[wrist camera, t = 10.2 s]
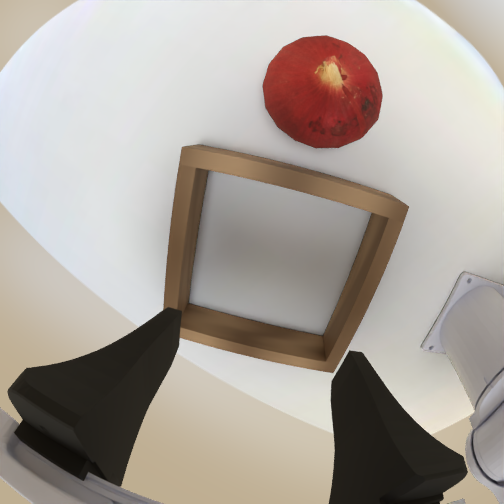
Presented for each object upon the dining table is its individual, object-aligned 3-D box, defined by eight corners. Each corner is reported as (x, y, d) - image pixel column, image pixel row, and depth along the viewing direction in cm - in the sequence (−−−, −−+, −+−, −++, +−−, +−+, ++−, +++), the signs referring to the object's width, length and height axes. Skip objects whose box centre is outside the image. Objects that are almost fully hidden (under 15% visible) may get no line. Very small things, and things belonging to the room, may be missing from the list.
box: (392, 195, 17) (409, 206, 14) (329, 347, 22) (333, 372, 20) (198, 144, 17) (182, 146, 15) (175, 309, 23) (162, 331, 20)
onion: (378, 98, 15) (438, 79, 7) (324, 164, 17) (352, 186, 10) (304, 41, 14) (314, -18, 7) (249, 107, 16) (220, 87, 9)
